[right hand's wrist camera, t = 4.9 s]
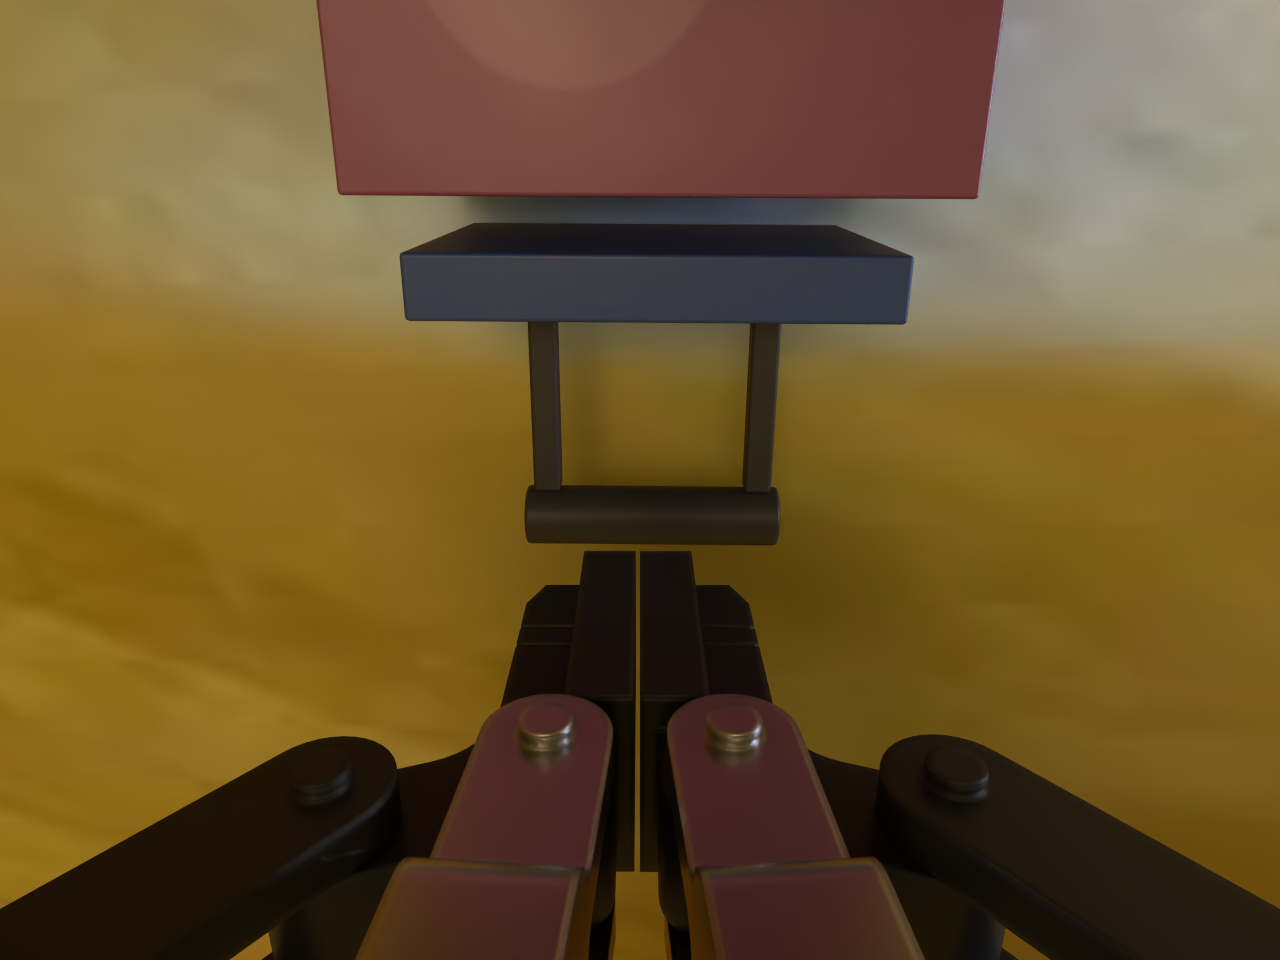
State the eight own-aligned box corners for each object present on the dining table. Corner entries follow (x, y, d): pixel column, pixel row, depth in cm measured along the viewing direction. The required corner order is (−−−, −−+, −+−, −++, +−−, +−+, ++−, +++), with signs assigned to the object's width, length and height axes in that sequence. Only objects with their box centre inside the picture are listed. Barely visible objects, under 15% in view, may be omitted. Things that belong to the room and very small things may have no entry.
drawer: (815, 490, 24) (874, 611, 18) (487, 487, 24) (429, 607, 18) (894, -470, 17) (1040, -838, 11) (429, -470, 17) (299, -837, 11)
